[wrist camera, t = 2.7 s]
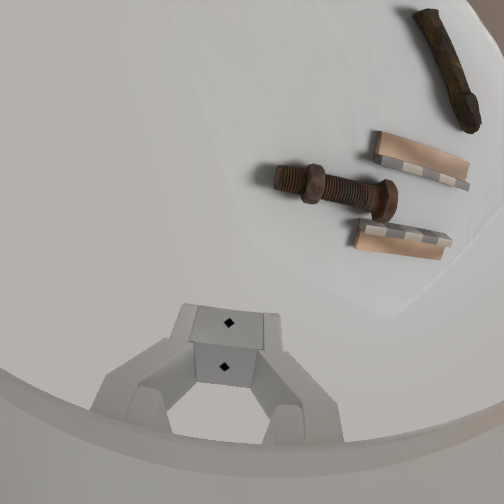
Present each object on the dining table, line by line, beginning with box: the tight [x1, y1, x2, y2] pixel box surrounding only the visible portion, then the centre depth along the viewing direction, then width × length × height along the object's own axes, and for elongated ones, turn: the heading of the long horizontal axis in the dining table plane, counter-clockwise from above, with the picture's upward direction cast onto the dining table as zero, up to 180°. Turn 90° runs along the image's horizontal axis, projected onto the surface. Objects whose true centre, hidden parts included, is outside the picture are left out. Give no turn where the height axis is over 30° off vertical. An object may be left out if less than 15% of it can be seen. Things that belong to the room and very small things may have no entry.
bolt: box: [274, 164, 398, 223], centre depth 32 cm, size 6×5×15 cm
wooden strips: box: [353, 131, 470, 260], centre depth 33 cm, size 16×16×2 cm
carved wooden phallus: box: [413, 8, 482, 134], centre depth 23 cm, size 19×4×5 cm, turn 24°
